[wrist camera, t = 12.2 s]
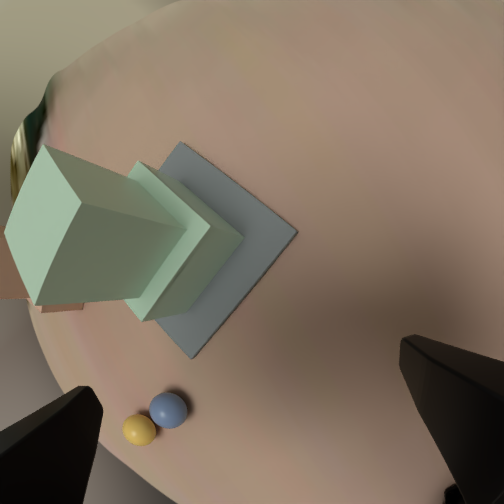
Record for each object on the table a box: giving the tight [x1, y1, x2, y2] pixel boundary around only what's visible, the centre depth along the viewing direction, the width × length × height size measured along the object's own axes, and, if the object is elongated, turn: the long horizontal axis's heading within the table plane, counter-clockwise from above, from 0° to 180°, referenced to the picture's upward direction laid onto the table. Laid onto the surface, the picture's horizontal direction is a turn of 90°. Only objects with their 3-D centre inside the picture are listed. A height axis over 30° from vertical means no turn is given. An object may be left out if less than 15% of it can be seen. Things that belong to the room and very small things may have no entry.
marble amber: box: [123, 414, 156, 446], centre depth 21 cm, size 3×3×3 cm
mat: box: [154, 142, 298, 359], centre depth 22 cm, size 12×12×1 cm
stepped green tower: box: [4, 144, 245, 322], centre depth 16 cm, size 7×7×12 cm
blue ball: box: [149, 393, 187, 429], centre depth 20 cm, size 3×3×3 cm
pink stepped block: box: [0, 226, 83, 313], centre depth 21 cm, size 7×7×12 cm
